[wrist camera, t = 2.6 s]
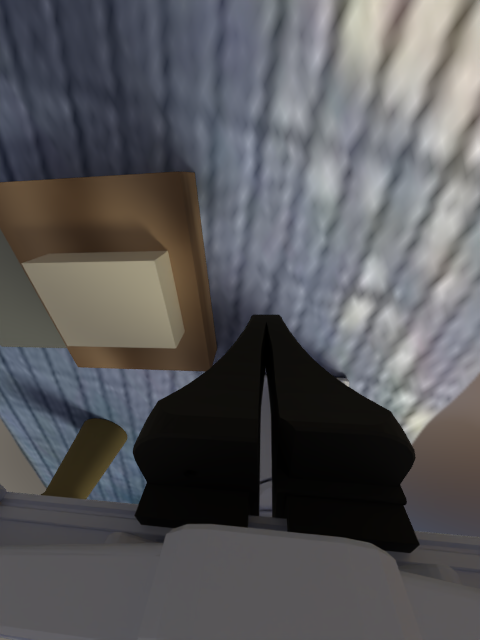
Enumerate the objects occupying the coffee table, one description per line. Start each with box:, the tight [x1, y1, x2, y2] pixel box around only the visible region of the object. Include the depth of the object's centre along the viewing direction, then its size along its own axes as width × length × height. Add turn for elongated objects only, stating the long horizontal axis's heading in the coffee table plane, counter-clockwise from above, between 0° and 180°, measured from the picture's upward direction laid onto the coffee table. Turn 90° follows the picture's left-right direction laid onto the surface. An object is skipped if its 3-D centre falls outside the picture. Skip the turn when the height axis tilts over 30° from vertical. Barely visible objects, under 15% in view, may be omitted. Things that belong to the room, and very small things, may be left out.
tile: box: [21, 251, 185, 348], centre depth 15 cm, size 8×6×2 cm
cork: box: [41, 418, 127, 499], centre depth 27 cm, size 6×6×11 cm
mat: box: [0, 229, 67, 348], centre depth 20 cm, size 10×14×1 cm
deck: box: [0, 172, 217, 371], centre depth 17 cm, size 12×14×3 cm
